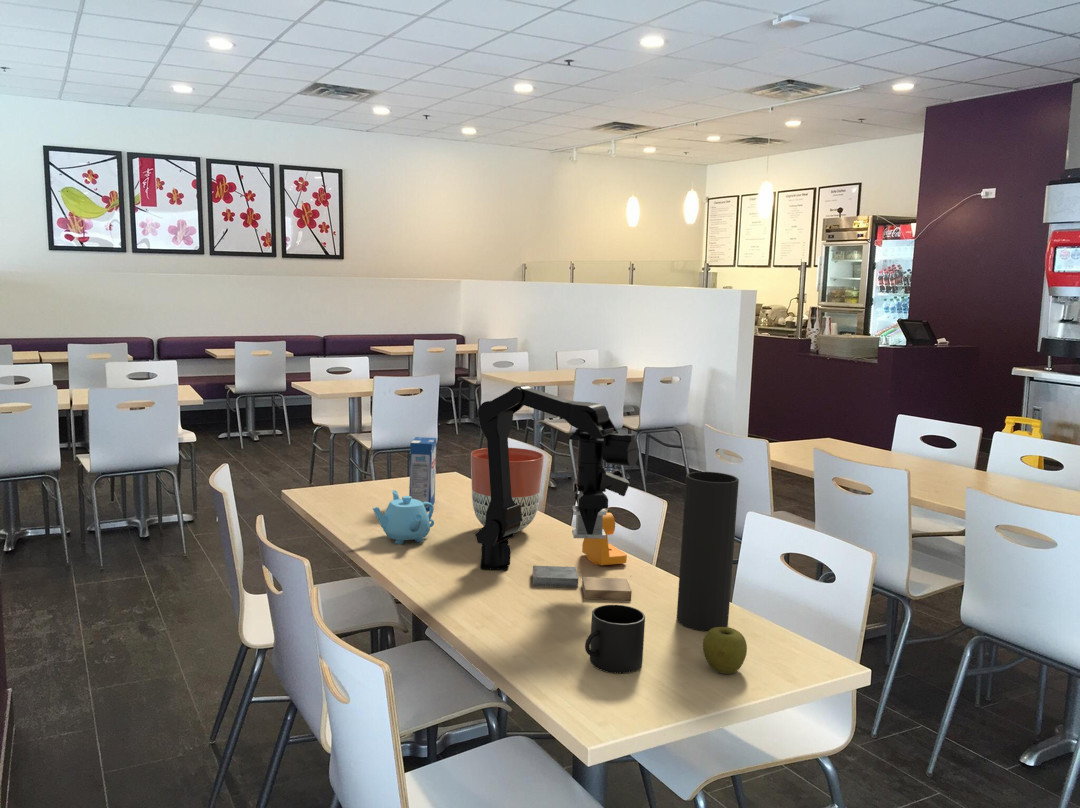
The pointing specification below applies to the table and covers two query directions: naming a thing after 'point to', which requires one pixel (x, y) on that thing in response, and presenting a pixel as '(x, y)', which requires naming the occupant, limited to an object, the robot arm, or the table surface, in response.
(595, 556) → the bracket
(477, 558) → the table surface
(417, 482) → the milk carton
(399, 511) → the teapot
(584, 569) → the table surface
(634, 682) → the table surface
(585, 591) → the stand
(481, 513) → the planter
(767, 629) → the table surface
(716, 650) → the apple
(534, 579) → the stand
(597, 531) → the block
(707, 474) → the vase
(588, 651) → the mug
